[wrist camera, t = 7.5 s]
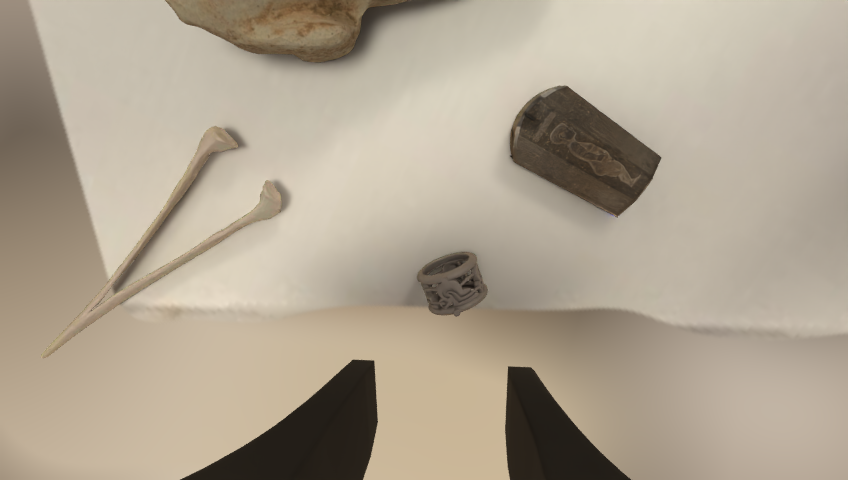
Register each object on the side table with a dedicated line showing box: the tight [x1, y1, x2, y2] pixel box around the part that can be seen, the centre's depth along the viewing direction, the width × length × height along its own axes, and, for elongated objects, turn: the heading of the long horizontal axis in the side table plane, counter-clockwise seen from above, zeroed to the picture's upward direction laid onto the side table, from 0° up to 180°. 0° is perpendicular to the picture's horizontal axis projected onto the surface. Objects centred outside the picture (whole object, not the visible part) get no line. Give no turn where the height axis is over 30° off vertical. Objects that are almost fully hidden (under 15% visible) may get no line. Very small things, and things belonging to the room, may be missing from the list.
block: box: [510, 85, 661, 218], centre depth 18 cm, size 4×6×2 cm, turn 61°
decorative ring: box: [417, 252, 488, 316], centre depth 19 cm, size 3×2×3 cm
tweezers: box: [41, 126, 282, 358], centre depth 22 cm, size 17×5×2 cm, turn 129°
